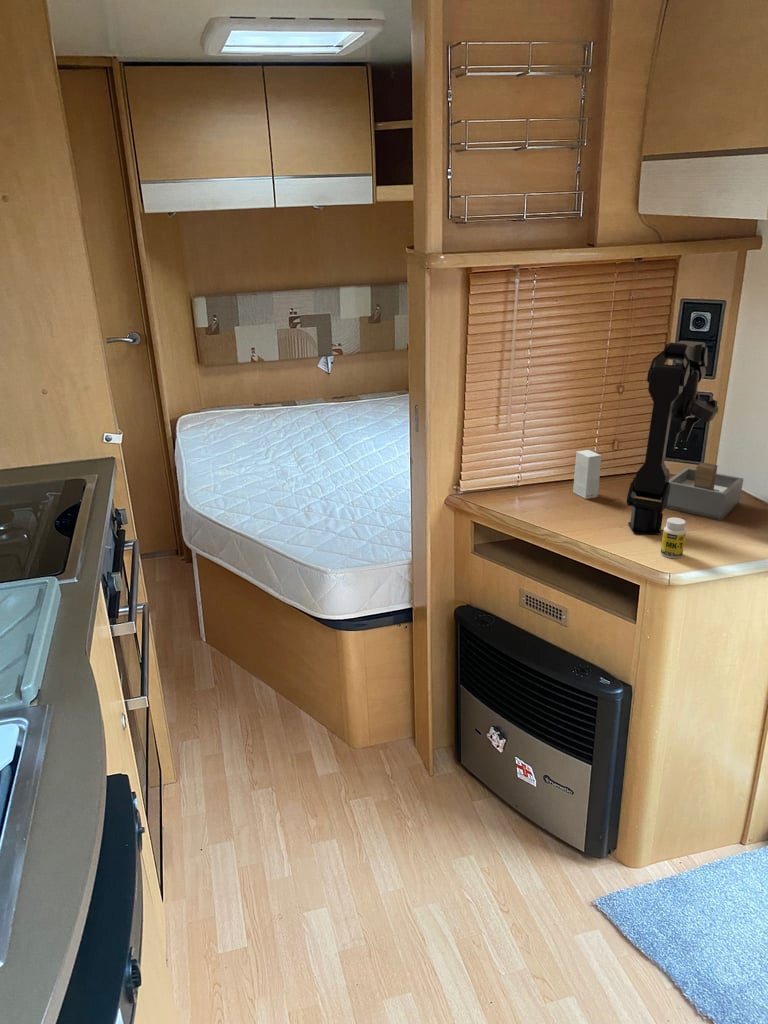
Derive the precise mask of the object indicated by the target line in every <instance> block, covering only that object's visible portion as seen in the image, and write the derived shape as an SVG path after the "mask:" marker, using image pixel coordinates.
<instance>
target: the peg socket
mask: <svg viewBox="0 0 768 1024" xmlns="http://www.w3.org/2000/svg"><path fill="white" fill-rule="evenodd" d="M695 475H696V469H695V468H691V467H684V468H683V469H682V470H680V471H679V472H678V473H676V474H674V475H673V476H672V477H670V478H669V482H670V491H669V496H668V501H667V506H666V508H665V509H669V510H674V511H679V512H683V513H686V514H692V515H695V516H696V515H697V516H701V517H704V516H705V517H706V518H708V517H709V519H714V520H718V521H722V520H723V519H724V518H725V517H727V515H728V514H729V513H731V511H733V510H734V509H736V507H737V506H738V505H739V504H740V501H741V497H742V496H741V495H742V490H743V485H744V478H743V477H738V476H732V475H729V474H728V475H726V474H722V473H716V479H715V485H714V491H713V490H708V489H703V488H699V487H694V482H695ZM705 517H704V518H705Z"/></svg>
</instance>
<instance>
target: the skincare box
mask: <svg viewBox="0 0 768 1024" xmlns="http://www.w3.org/2000/svg"><path fill="white" fill-rule="evenodd" d="M575 453H576V454H575V462H574V463H575V465H574V476H573V477H574V478H573V487H572V489H573V490H572V492H573V493H574V494H575V495H578V496H579V497H581V498H583V499H585V500H588V499H593V498H594V499H595V498H598V496H599V486H600V476H601V466H602V464H601V463H602V454H599V453H597V452H594V451H592V450H590V449H585V450H577V451H575Z"/></svg>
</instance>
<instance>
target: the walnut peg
mask: <svg viewBox="0 0 768 1024" xmlns="http://www.w3.org/2000/svg"><path fill="white" fill-rule="evenodd" d="M717 472H718V465H717V464H712V463H707V462H700V463H699V464H698V465H697V466H696V475H695V482H694V487H699V488H703V489H708V490H713V491H714V485H715V479H716V473H717Z"/></svg>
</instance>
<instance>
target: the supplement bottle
mask: <svg viewBox="0 0 768 1024" xmlns="http://www.w3.org/2000/svg"><path fill="white" fill-rule="evenodd" d="M686 524H687V523H686V520H685V519H683V518H680V517H669V518H667V519H666V524H665V526H664V528H663V532H662V539H661V545H660V554H661V555H662V556H663V557H664V558H669V559H680V558H682V557H683V554H684V547H685V542H686V541H685V540H686V535H687V530H686Z"/></svg>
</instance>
